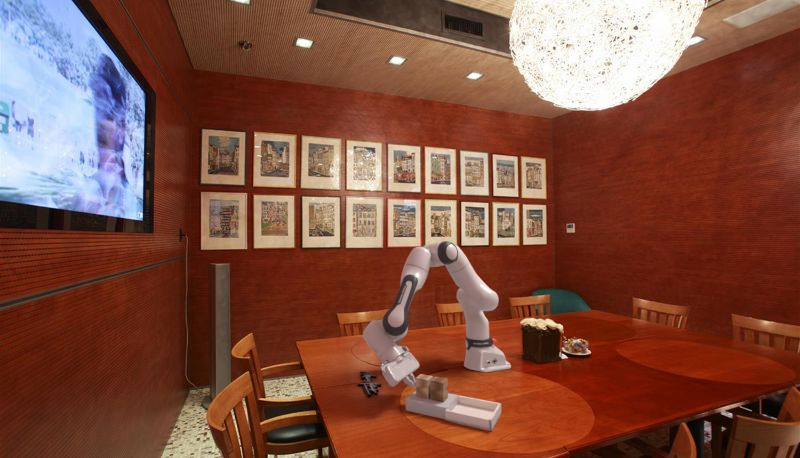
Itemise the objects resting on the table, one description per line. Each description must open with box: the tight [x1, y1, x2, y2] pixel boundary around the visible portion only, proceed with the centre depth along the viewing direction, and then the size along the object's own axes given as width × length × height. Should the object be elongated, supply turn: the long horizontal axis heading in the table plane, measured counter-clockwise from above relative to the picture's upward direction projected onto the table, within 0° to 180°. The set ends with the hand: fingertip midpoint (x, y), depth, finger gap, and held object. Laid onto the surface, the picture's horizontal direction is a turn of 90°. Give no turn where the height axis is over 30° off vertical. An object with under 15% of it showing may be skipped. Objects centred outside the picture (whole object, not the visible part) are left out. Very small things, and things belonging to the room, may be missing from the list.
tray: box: [444, 394, 503, 432], centre depth 131 cm, size 16×14×4 cm
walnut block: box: [430, 376, 449, 402], centre depth 137 cm, size 5×4×7 cm
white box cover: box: [405, 390, 459, 420], centre depth 138 cm, size 16×12×4 cm
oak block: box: [415, 373, 434, 399], centre depth 140 cm, size 5×4×7 cm
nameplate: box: [357, 370, 382, 399], centre depth 163 cm, size 28×2×10 cm
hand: (414, 386), depth 142 cm, fingers closed
